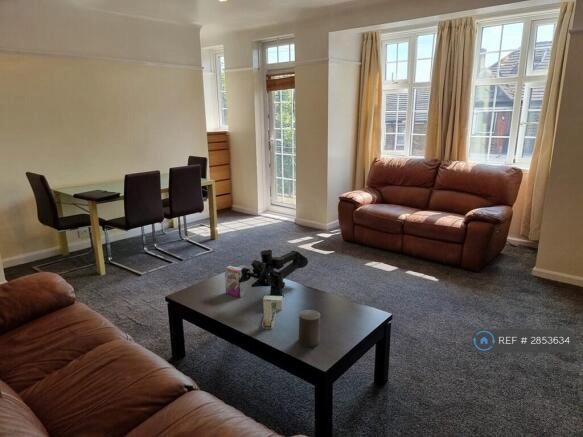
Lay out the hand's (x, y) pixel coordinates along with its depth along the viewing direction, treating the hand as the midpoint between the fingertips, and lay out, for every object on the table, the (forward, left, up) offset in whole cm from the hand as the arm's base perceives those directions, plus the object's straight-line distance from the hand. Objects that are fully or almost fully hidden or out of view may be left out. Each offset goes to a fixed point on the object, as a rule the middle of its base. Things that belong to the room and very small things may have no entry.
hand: (245, 284), depth 211 cm
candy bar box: (-10, -22, -17) cm, 30 cm away
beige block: (-3, +15, -16) cm, 22 cm away
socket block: (-14, +6, -17) cm, 23 cm away
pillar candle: (-3, +43, -17) cm, 46 cm away
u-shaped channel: (-3, +15, -17) cm, 23 cm away
